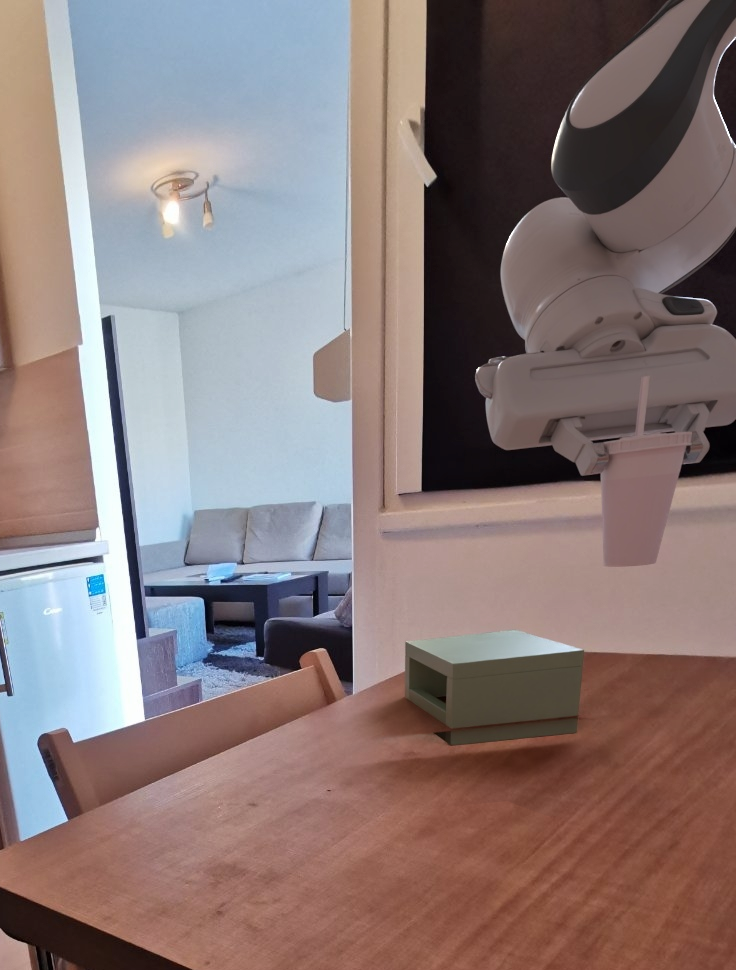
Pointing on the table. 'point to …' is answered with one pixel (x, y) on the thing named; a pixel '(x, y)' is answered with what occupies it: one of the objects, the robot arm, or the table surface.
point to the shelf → (495, 684)
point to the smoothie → (639, 490)
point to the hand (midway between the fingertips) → (646, 462)
